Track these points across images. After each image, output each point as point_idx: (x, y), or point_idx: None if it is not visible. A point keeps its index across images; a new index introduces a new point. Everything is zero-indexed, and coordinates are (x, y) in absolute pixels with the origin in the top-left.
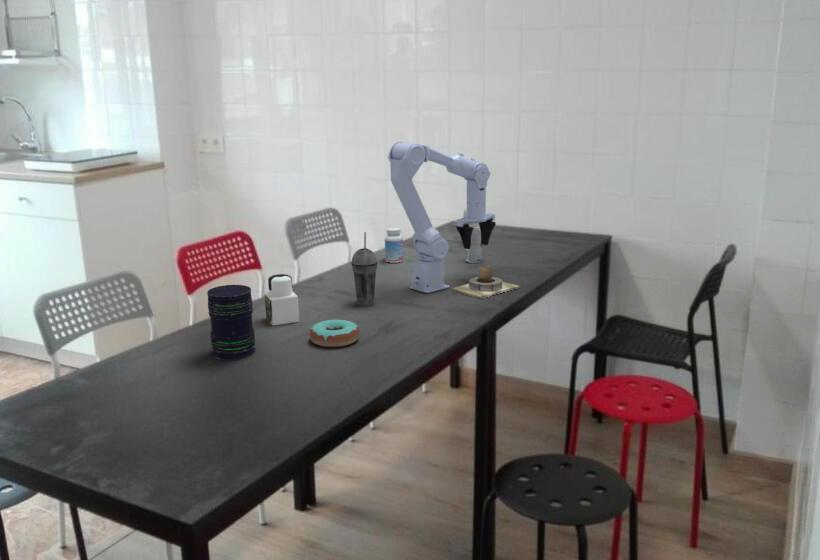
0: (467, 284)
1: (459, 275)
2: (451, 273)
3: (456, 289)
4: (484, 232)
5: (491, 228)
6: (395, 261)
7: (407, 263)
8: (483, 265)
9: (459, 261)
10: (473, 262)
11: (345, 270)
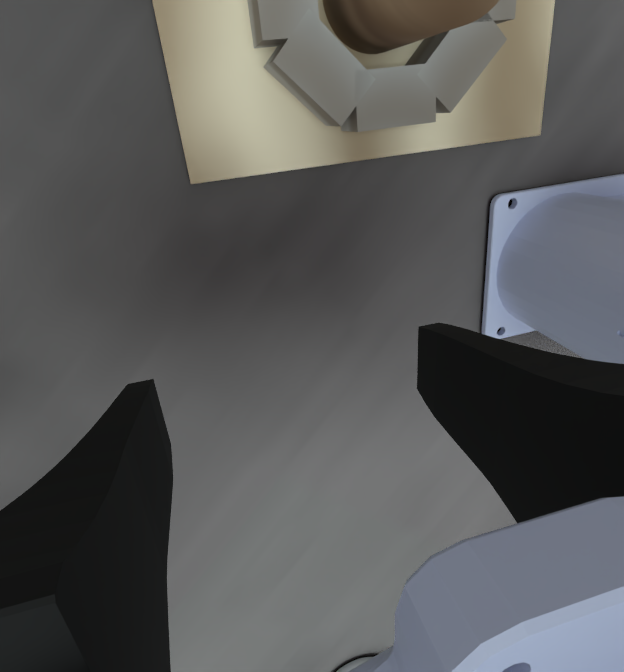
0: (418, 142)
1: (274, 392)
2: (284, 444)
3: (545, 86)
4: (147, 536)
5: (38, 519)
6: None
7: (336, 645)
8: (425, 15)
9: None
10: None
11: None
